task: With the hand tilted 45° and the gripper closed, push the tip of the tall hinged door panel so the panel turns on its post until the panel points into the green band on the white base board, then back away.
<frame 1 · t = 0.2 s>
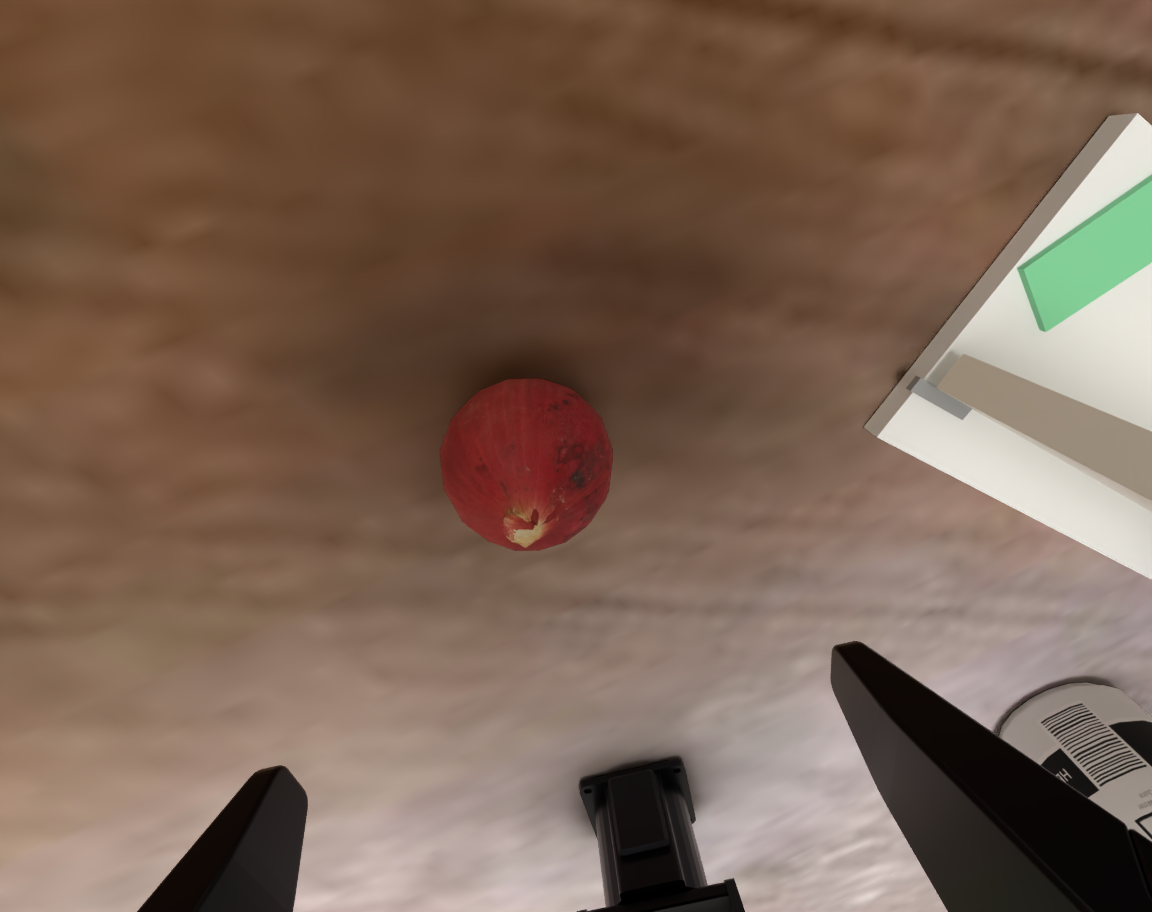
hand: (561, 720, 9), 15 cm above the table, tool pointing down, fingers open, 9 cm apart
onion: (526, 417, 22), on the table
supplement can: (1050, 717, 35), on the table
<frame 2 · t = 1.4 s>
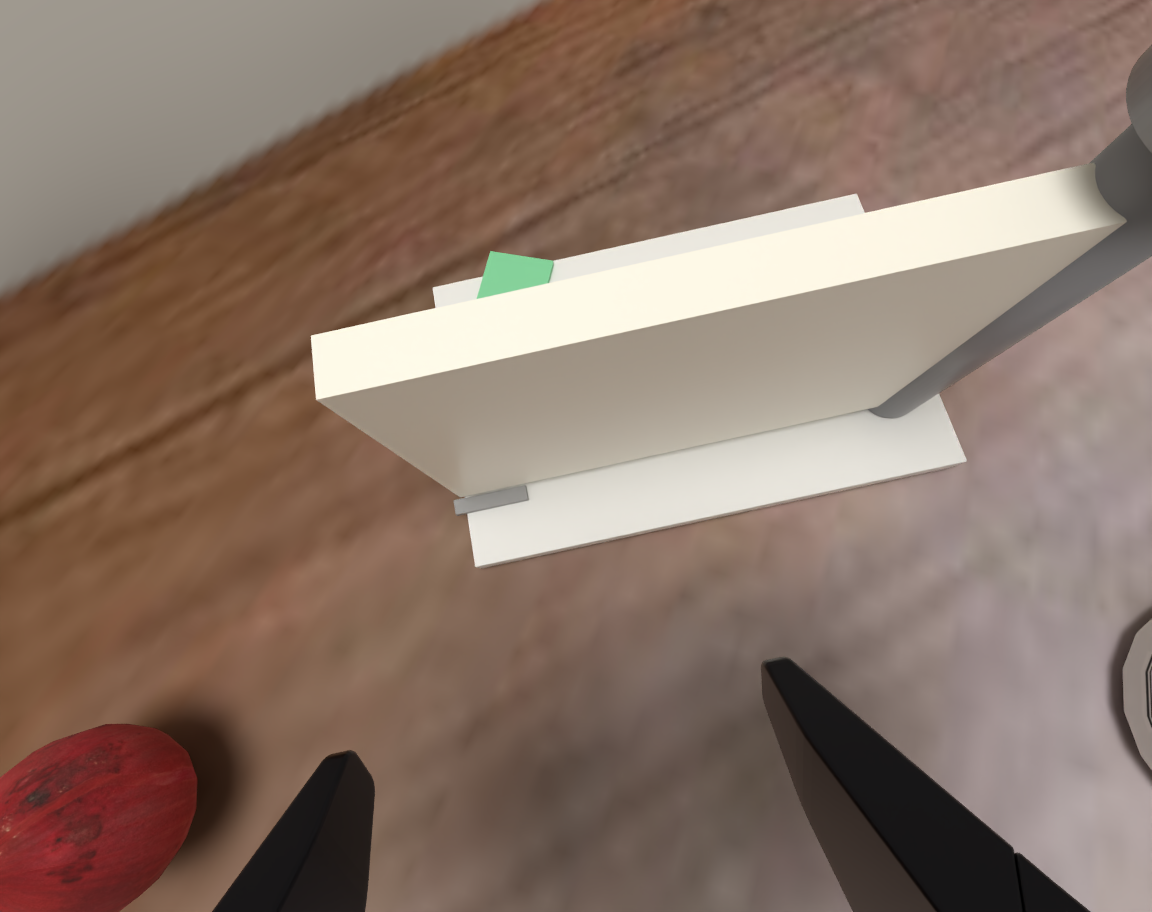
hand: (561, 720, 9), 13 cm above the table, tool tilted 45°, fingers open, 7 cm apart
onion: (178, 785, 22), on the table
hinged door panel: (735, 352, 16), point 9 cm above the table, hinge at 0.0°
white base board: (875, 400, 24), on the table
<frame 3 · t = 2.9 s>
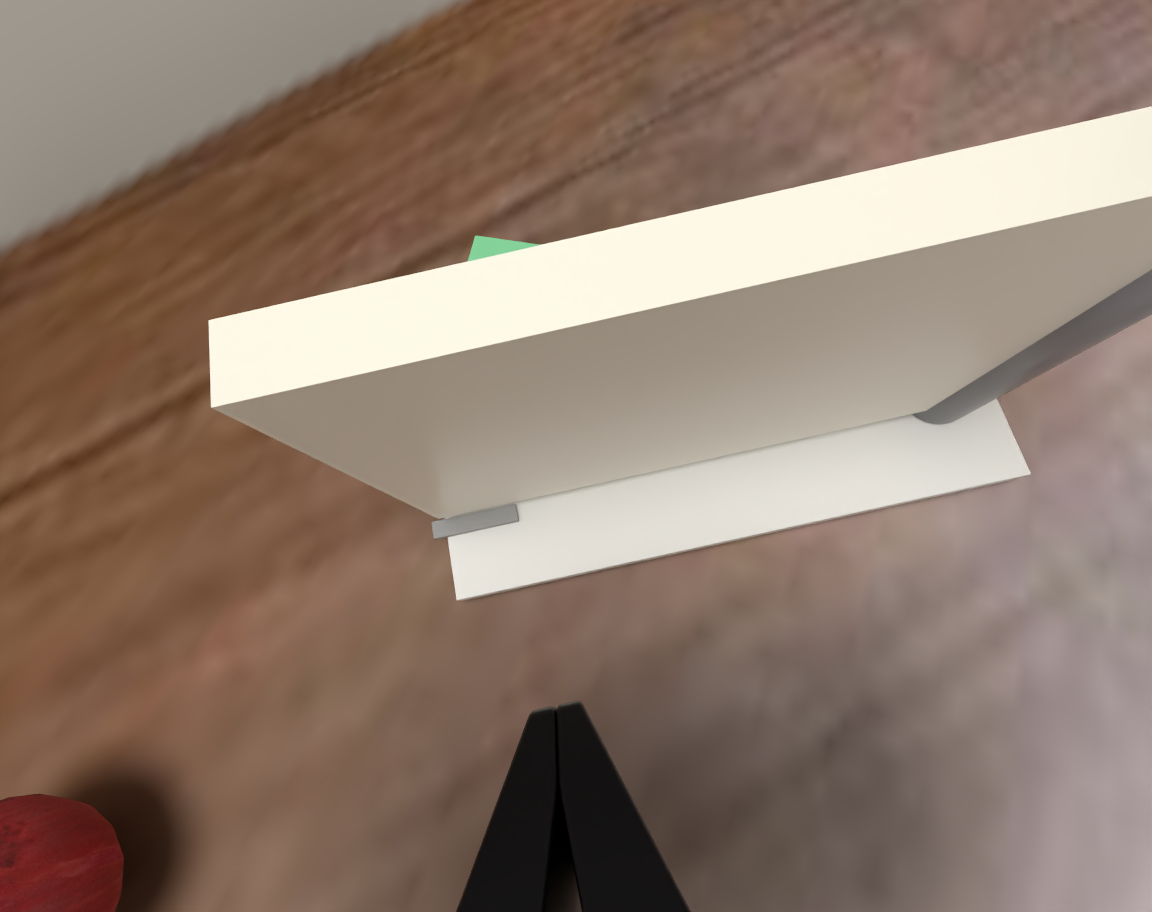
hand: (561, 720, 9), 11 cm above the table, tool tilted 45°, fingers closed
onion: (108, 858, 19), on the table
hinged door panel: (772, 345, 12), point 9 cm above the table, hinge at 0.0°
white base board: (918, 403, 21), on the table
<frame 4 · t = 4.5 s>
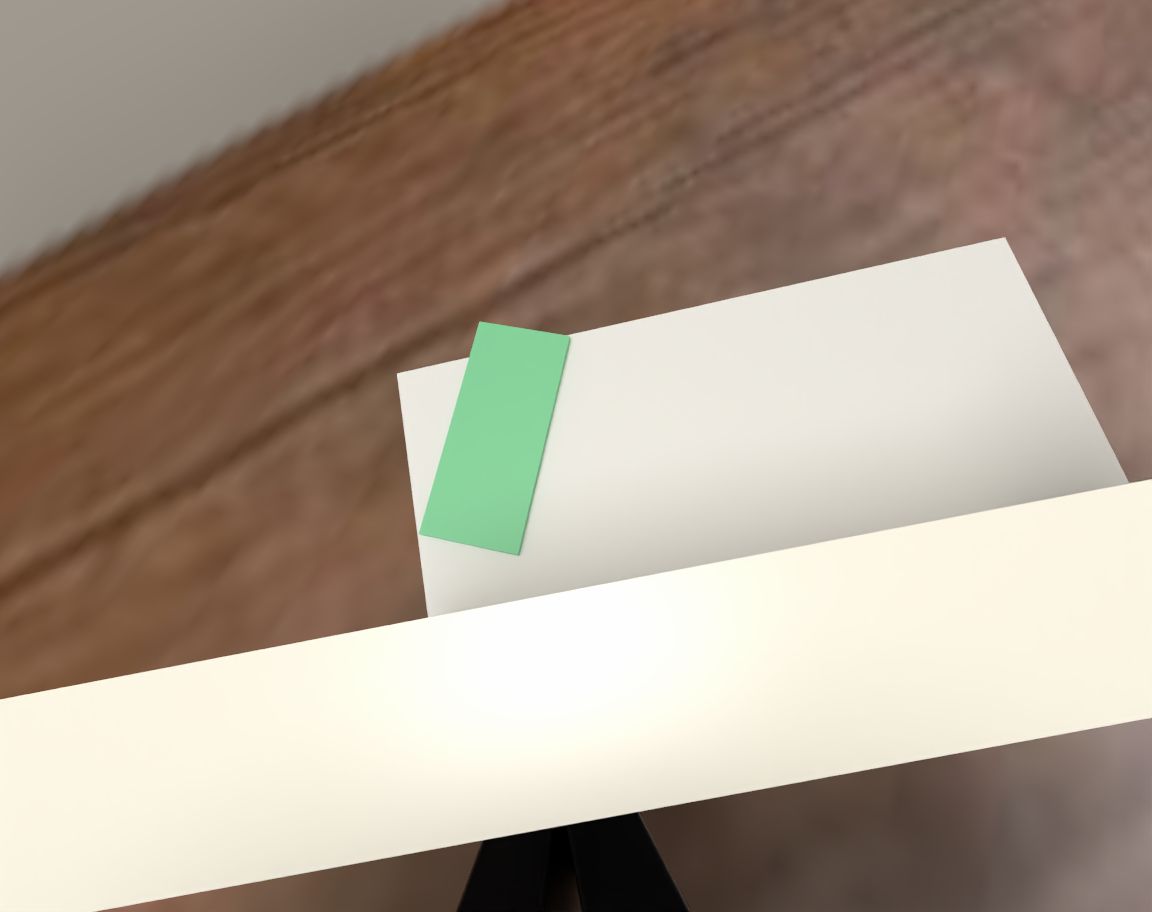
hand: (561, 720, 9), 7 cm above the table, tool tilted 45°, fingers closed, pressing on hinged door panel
hinged door panel: (949, 586, 8), point 9 cm above the table, hinge at 1.5°, touching gripper
white base board: (1051, 546, 16), on the table
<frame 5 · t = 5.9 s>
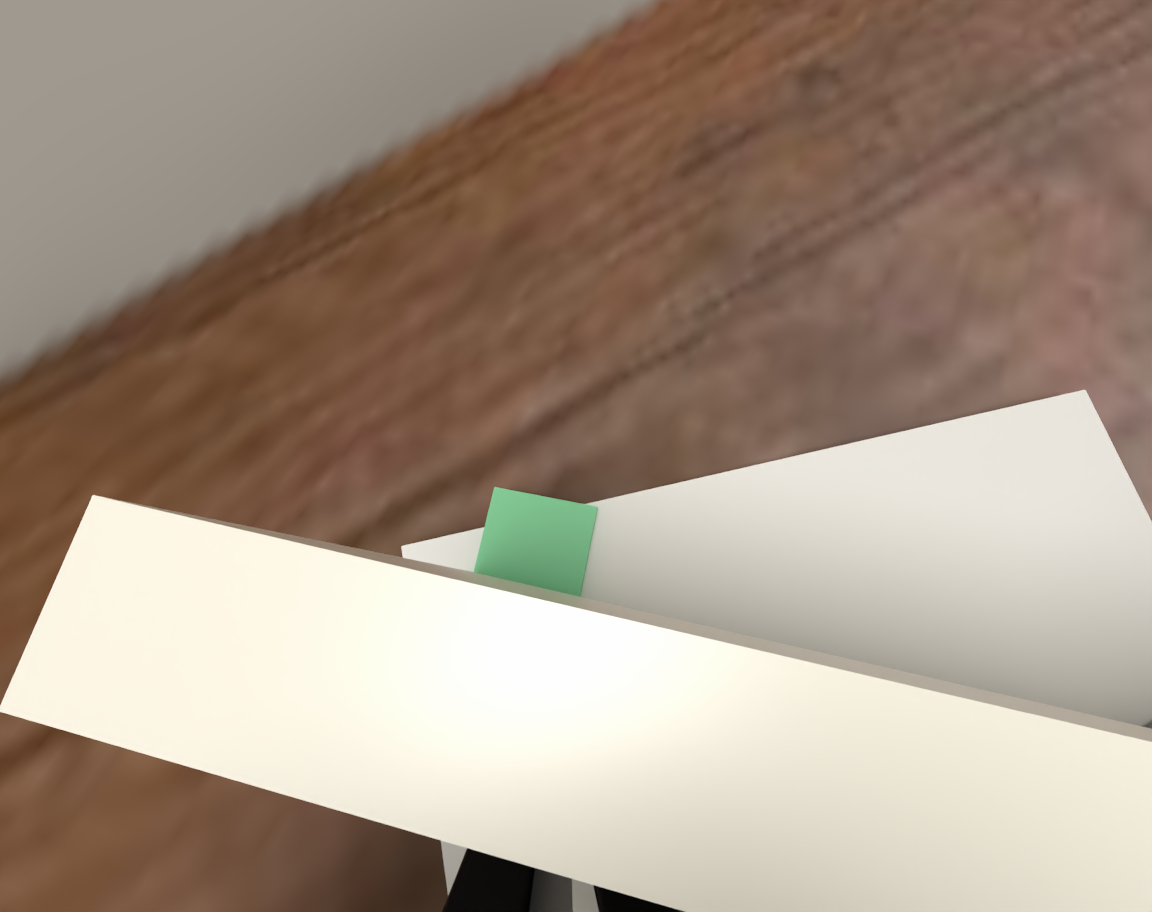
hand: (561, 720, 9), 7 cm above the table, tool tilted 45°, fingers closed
hinged door panel: (1088, 782, 7), point 9 cm above the table, hinge at 25.0°, touching gripper
white base board: (1145, 757, 14), on the table
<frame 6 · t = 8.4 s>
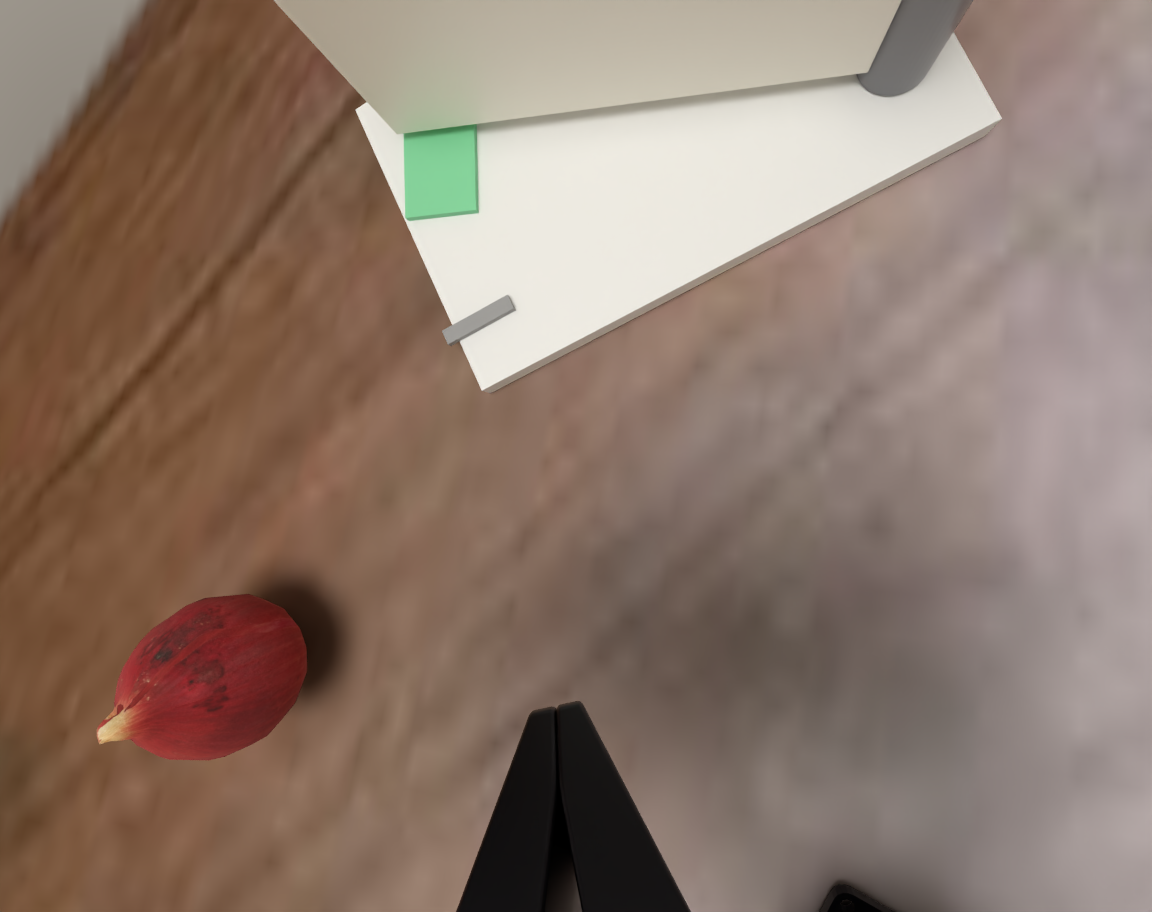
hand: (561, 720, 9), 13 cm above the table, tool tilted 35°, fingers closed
onion: (292, 639, 25), on the table
white base board: (882, 81, 20), on the table
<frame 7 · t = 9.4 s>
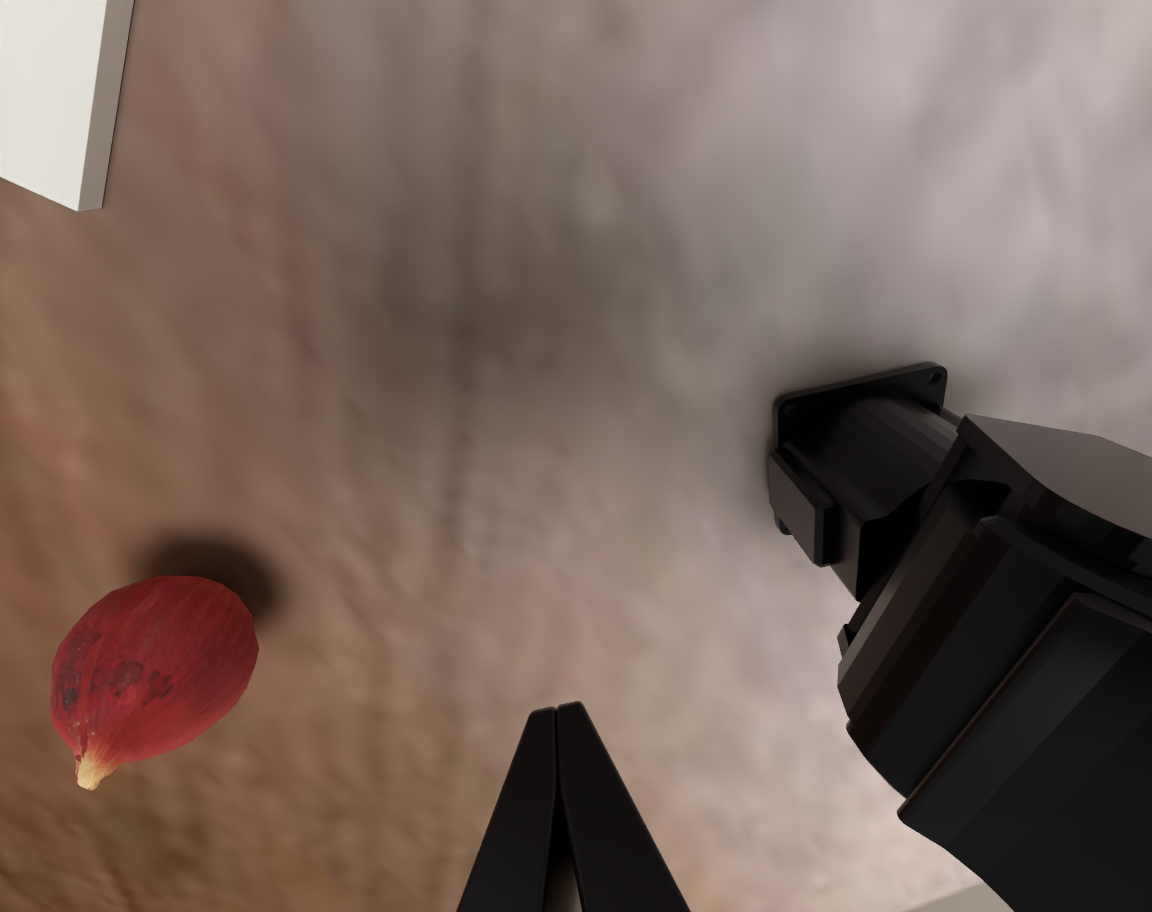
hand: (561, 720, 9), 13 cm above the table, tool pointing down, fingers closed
onion: (215, 585, 23), on the table
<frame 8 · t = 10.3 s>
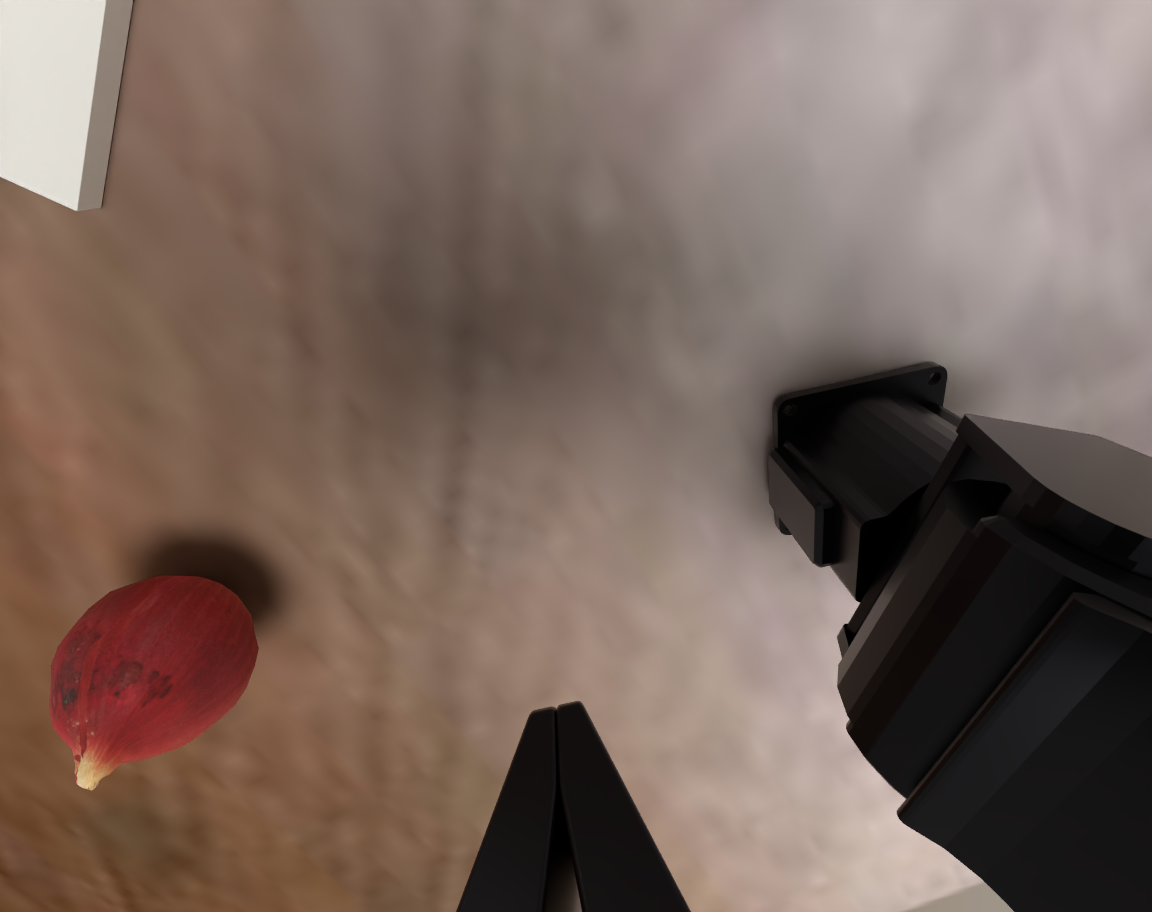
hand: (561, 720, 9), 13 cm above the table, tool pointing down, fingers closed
onion: (214, 585, 23), on the table
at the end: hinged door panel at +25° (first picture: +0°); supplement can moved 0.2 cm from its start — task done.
